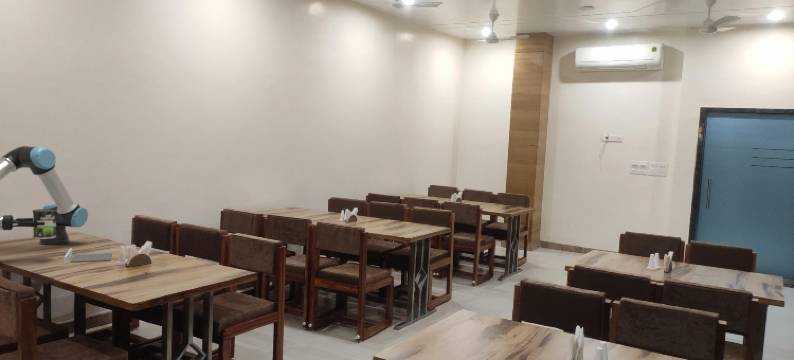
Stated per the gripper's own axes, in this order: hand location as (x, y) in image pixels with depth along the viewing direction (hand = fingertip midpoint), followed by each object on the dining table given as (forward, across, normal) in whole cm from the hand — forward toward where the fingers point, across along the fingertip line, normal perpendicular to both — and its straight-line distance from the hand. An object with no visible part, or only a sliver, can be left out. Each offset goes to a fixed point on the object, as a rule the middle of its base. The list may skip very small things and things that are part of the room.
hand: (54, 221), depth 299 cm
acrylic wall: (+6, 0, -20) cm, 21 cm away
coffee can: (-4, 0, -8) cm, 9 cm away
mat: (+17, 0, -20) cm, 26 cm away
